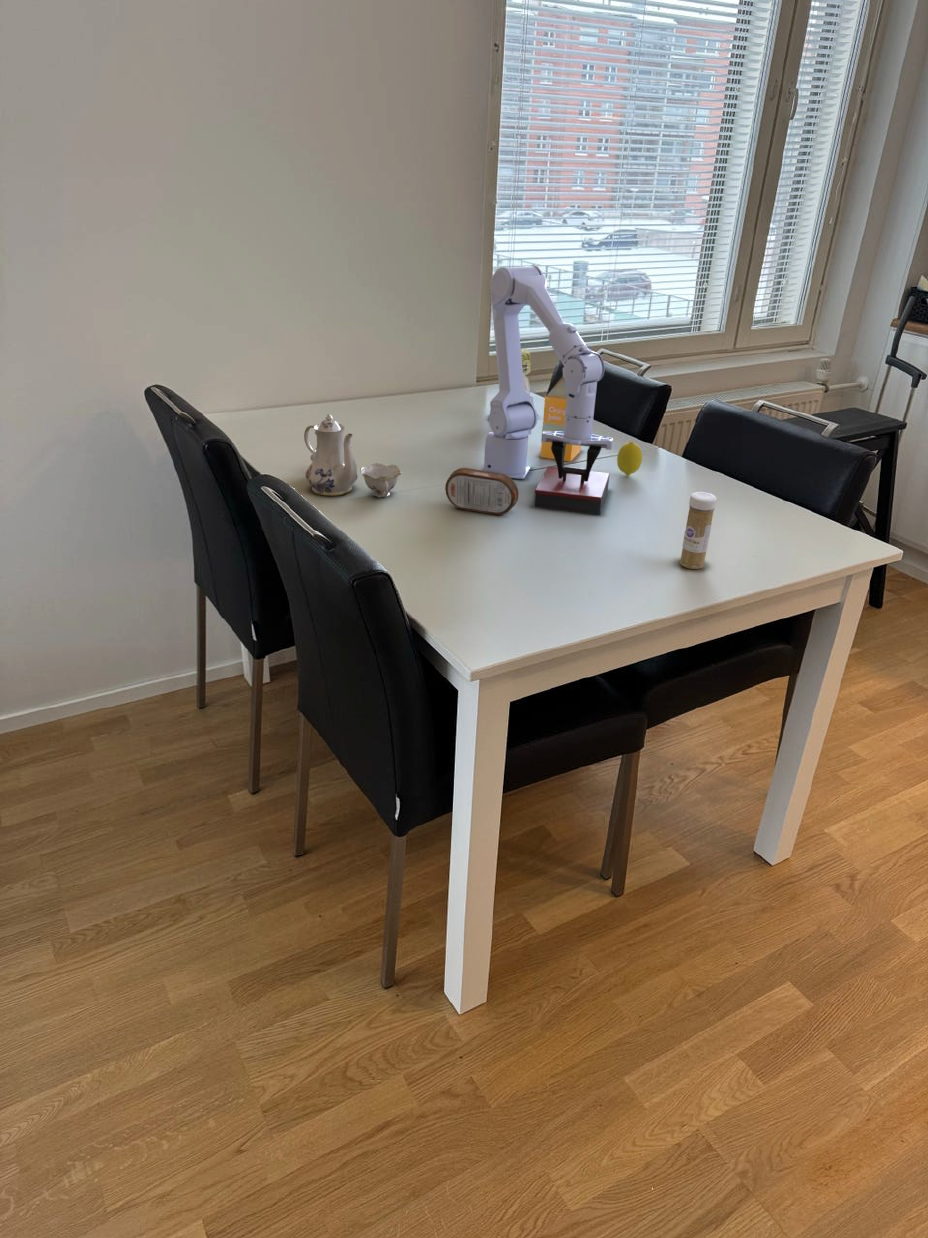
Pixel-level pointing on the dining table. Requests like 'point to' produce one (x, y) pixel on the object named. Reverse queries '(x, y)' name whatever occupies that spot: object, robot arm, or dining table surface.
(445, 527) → the dining table surface
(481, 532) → the dining table surface
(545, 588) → the dining table surface
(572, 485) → the lid
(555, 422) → the orange juice
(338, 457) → the chinaware
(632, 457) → the lemon
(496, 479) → the tin
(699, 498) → the sprinkles bottle
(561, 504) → the dark grey open tray
